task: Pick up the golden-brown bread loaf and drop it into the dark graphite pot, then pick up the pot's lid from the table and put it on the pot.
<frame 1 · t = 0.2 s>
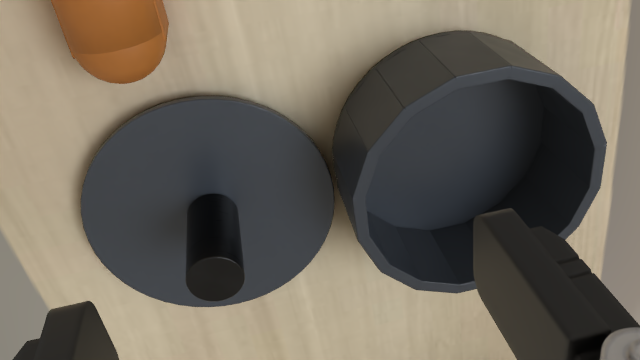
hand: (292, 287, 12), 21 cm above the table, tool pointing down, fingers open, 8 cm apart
pot: (442, 141, 37), on the table
lid: (212, 209, 36), point 1 cm above the table
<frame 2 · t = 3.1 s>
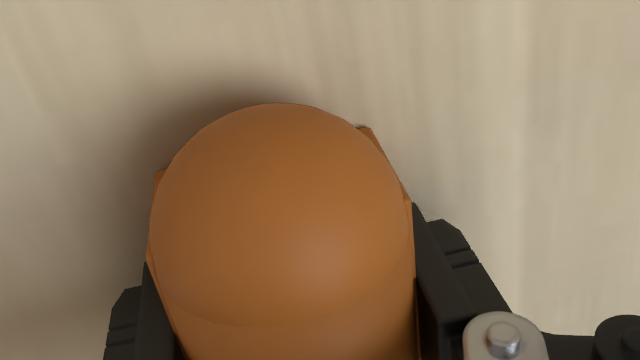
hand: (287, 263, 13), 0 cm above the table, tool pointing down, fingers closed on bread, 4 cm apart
bread: (287, 253, 13), on the table, touching gripper
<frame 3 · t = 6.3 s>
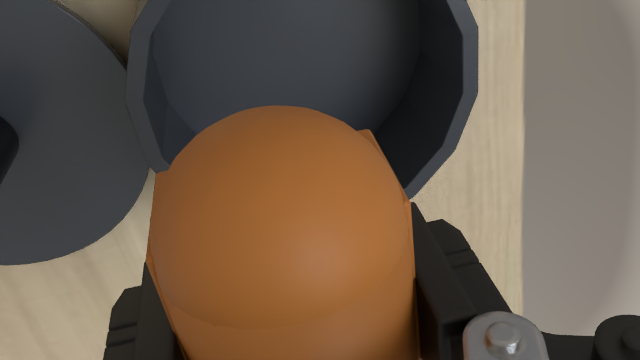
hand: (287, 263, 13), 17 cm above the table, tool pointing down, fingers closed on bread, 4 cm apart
pot: (290, 47, 28), on the table
bread: (287, 255, 13), point 17 cm above the table, touching gripper
when the fingers open (4 cm above the table, at t = 9.8 s): bread drops 3 cm, resting on pot.
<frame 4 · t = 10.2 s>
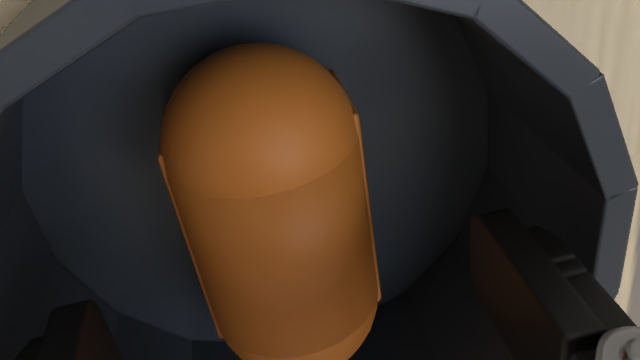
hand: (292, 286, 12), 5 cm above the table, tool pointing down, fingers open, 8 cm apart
pot: (269, 168, 17), on the table
bread: (270, 178, 16), resting on pot
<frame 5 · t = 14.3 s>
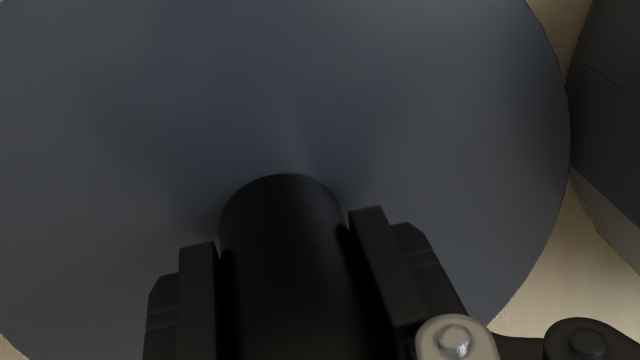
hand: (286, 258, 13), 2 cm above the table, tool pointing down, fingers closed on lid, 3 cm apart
lid: (279, 214, 15), point 1 cm above the table, touching gripper
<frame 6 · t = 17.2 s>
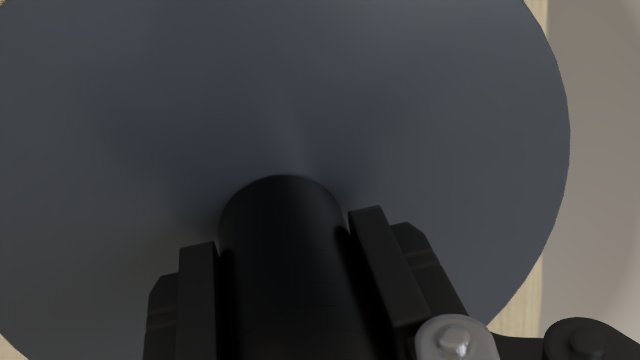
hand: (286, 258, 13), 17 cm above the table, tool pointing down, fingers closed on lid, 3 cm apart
lid: (278, 215, 15), point 16 cm above the table, touching gripper
when the fingers open (8 cm above the table, at t = 20.0 s): lid stays where it is, resting on pot.
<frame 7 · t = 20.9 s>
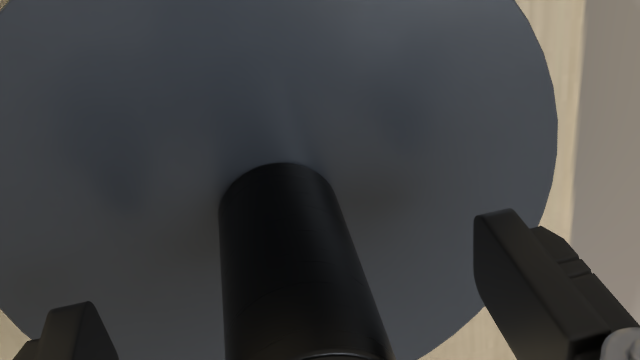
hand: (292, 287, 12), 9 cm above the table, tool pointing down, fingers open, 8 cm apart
lid: (276, 202, 15), point 6 cm above the table, touching pot
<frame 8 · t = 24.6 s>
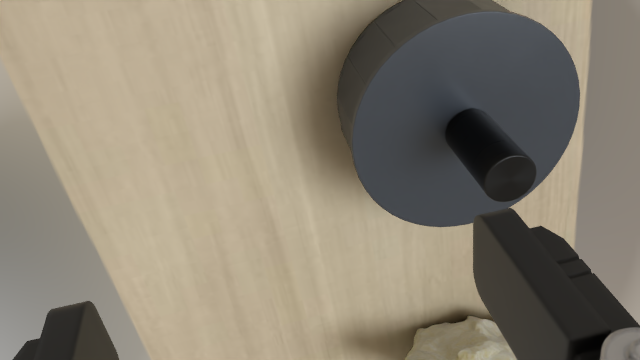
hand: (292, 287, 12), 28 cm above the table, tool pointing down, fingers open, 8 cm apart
pot: (432, 89, 42), on the table
lid: (464, 126, 37), point 6 cm above the table, touching pot
cream rock: (436, 339, 56), on the table
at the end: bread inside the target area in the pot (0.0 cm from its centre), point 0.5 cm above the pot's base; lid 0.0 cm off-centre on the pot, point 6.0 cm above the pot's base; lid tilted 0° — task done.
